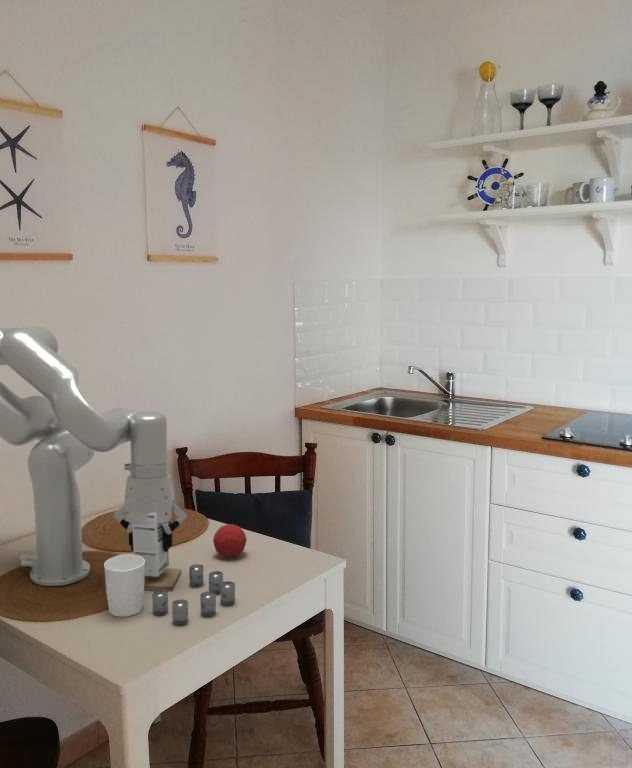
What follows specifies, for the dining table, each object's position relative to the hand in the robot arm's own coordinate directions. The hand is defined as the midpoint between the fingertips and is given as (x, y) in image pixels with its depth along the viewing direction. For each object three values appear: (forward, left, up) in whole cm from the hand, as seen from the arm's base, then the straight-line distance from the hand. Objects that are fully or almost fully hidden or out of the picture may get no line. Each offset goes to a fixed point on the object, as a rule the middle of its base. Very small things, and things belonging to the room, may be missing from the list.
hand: (150, 548), depth 154 cm
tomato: (+15, +15, -8) cm, 23 cm away
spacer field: (+12, -9, -8) cm, 17 cm away
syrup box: (0, 0, -5) cm, 5 cm away
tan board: (0, 0, -8) cm, 8 cm away
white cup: (-2, -13, -8) cm, 15 cm away
